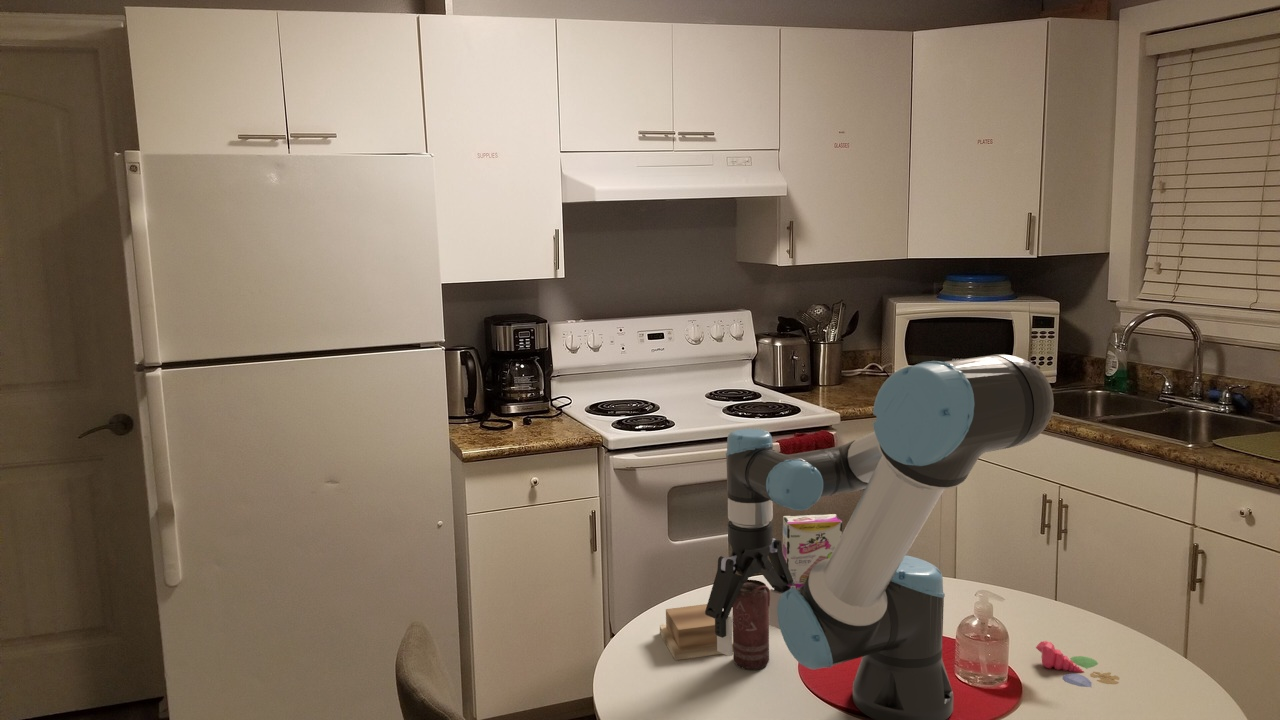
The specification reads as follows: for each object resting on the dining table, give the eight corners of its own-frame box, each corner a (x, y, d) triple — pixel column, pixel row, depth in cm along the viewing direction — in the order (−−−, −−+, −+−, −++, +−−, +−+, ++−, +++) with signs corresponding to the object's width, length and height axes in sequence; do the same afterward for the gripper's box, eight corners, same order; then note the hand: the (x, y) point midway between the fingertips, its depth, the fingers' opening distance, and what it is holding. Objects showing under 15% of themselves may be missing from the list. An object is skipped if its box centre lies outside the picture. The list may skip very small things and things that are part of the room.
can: (772, 670, 155) (771, 591, 153) (735, 671, 155) (733, 592, 153) (768, 653, 161) (767, 577, 159) (732, 654, 161) (730, 578, 159)
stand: (735, 651, 162) (734, 625, 161) (675, 660, 160) (674, 633, 159) (716, 625, 173) (716, 600, 172) (659, 633, 170) (659, 607, 170)
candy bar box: (787, 602, 182) (786, 523, 179) (781, 592, 187) (781, 515, 184) (842, 599, 183) (842, 520, 180) (835, 589, 188) (835, 512, 185)
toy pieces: (1050, 688, 147) (1051, 662, 146) (1031, 656, 158) (1032, 631, 157) (1130, 691, 145) (1132, 665, 144) (1105, 658, 156) (1106, 634, 155)
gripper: (779, 499, 165) (779, 610, 169) (682, 534, 149) (684, 657, 152) (813, 508, 160) (813, 622, 163) (716, 545, 143) (718, 672, 147)
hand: (751, 639), depth 158 cm, fingers open, 13 cm apart
